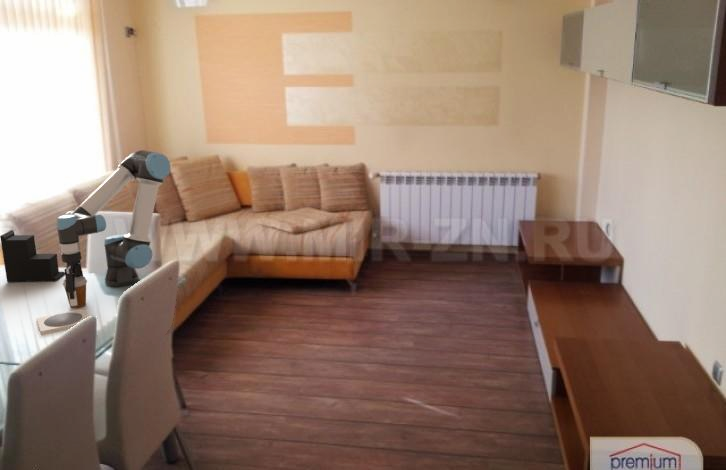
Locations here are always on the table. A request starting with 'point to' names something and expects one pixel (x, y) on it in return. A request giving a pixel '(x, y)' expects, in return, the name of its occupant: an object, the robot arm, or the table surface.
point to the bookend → (27, 260)
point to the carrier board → (60, 321)
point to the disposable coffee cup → (78, 291)
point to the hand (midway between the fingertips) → (77, 301)
